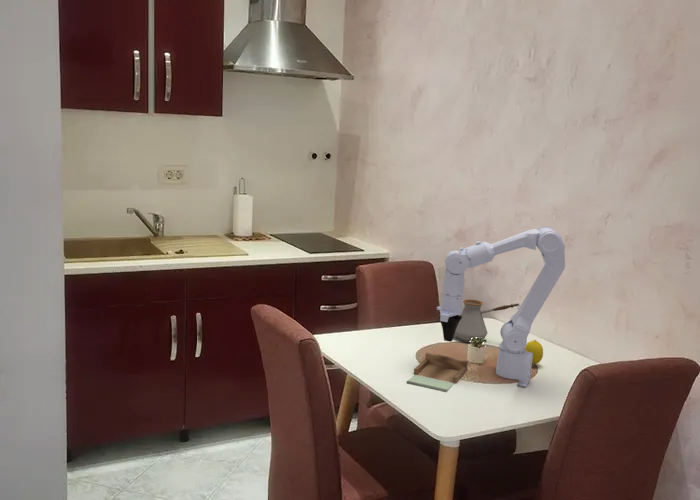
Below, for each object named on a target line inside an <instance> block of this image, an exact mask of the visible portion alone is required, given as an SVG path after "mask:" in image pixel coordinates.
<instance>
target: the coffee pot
mask: <svg viewBox="0 0 700 500" xmlns="http://www.w3.org/2000/svg"><path fill="white" fill-rule="evenodd" d="M462 304H463V305H464V307H463V308H462V314H459V315H460V316H462V319H461V320H460V322H459V324H458V326H457V328H456V331H455V334H454V336H455V337H457V339H458V340H459V341H461V342H465V343H470V342H469V341H470V340H471V338H472V337H482V338H484V339H485V338H486V337H487V335H488V331H487V330H488V329H487V327H486V324H485V320H484V318H483V314H487V313H491V312H497V311H501V310H502V311H503V310H507V309H510V308H512V309H513V308H514V307H517V310H518V309H519V308H520V306H521V304H519V303H511V304H509V305H508V304H507V305H502V306H501V305H500V306H497V307H494V308H489V309H486V310H485V309H484V310H481V307H482V306H483V304H484V303H483V302H482V301H480V300H477V299H465V300H464V299H463V301H462Z"/></svg>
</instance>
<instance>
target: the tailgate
mask: <svg viewBox="0 0 700 500" xmlns="http://www.w3.org/2000/svg"><path fill="white" fill-rule="evenodd" d="M406 384H407V385H413V386H417V387H421V388H427V389H430V390H435V391H440V392H442V393H443V392H444V393H448V391H449V390H450V389H451V388H452V387H453V386H454V384H455V383H451V382H447V381H442V380H438V379H433V378H428V377H424V376H419V375H415V374H413V376H412V377H410V378H409V379H408V380H406Z"/></svg>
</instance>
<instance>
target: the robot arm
mask: <svg viewBox="0 0 700 500" xmlns="http://www.w3.org/2000/svg"><path fill="white" fill-rule="evenodd" d="M522 248H527V249H530V250H534V251H536V250H537V249H538V250H539V252H540V253H541V256H542V259H543V262H544V265H543V267H542V268H541V270H540V272H539V274H538V276H537V277H536V279H535V280H534V282H533V284H532V285H531V288H530V289H529V290H528V293H527V294H526V296H525V297H524V299H523V301H522V303H520V306H519V307H518V308H519V309H518V308H517V311H516V312H515V313H514V314H513V315H512V316H511V317H510V319H509V320H508V321H507V322H505V323H504V324H502V326H501V328H500V336H501V338H502V340H501V342H500V344H499V345H498V350H497V351H498V352H497V360H496V361H497V362H496V369H495V374H496V375H497V376H499V377H500V378H504V379H509V380H515V381H518V382H517V383H516V386H518V387H527V386H528V385H529V382H530V380H531V376H532V367H533V365H532V359H533V353H531V352H528V351H526V350H525V347H526V345H527V343H528V336H529V334H530V332H531V328H532V324H533V322H534V320H535V319H536V318H537V315H538V314H539V312H540V311H541V309H542V308H543V306H544V304H545V303H546V300H547V299H548V297H549V295H550V294H551V292H552V290H553V289H554V288H555V285H556V283H557V282H558V281H559V279H560V277H561V275H562V274H563V272H564V271H565V268H566V255H565V253H566V252H565V249H566V244H565V242H564V240H563V238H562V236H561V235H560V234H559V233H558V232H557V231H555V229H554V228H552V227H550V226H541V227H538V228H532V229H529V230H526V231H522V232H520V233H517V234H514V235H512V236H510V237H507V238H504V239H501V240H499V241H495V242H493V243H489V242H487V241H481V240H478V241H476V242H475V244H473V245H470V246H467V247H465V248H464V247H463V246H462V247H459V250H451V251H450V252H448V254H447V255H446V256H445V259H444V265H445V270H444V276H443V285H442V292H441V293H442V295H441V304H440V305H441V306H439V305H438V306H437V307H436V310H437V311H440V315H439V317H438V321H439V322H440V324H441V329H442V333H443V334H442V335H443V340H444V341H446V342H453V340H454V337H455V331H456V328H457V326H458V324H459V322H460V320H461V319H462V316H460V315H461V314H462V311H463V301H464V290H465V281H466V280H465V271H466V270H467V268H468V269H471V268H474V267H479V266H481V265H484V264H487V263H490V262H492V261H493V260H494V257H495V256H498V255H501V254H504V253H507V252H511V251H514V250H517V249H522Z"/></svg>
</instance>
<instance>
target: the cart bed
mask: <svg viewBox="0 0 700 500" xmlns="http://www.w3.org/2000/svg"><path fill="white" fill-rule="evenodd" d="M468 362H469V360H467V359H462V358H456V357H451V356H447V355H441V354H436V353H432V352H425V358H424V359H423V360H422V361H421V362H420V363H419V364H418V365H417V366H416V367H414V369H413V375H417V376H422V377H427V378H431V379H436V380H440V381H445V382H450V383H454V384H457V383H458V382H459V381H460V380H461V379H462V377H463V376H465V374H466V373H467V372H468V365H469V364H468Z"/></svg>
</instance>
